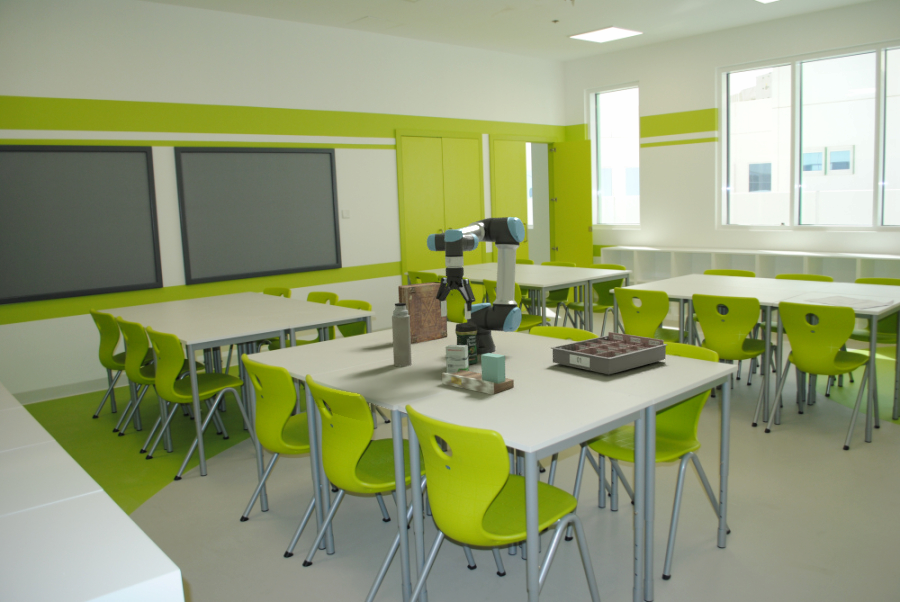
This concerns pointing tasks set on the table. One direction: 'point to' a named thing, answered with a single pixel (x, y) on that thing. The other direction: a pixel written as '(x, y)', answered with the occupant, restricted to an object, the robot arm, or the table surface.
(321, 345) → the table surface
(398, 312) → the thermos bottle
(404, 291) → the book
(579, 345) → the organizer tray
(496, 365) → the teal block
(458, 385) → the brown flat block
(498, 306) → the robot arm
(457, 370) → the ink box
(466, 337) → the coffee jar
